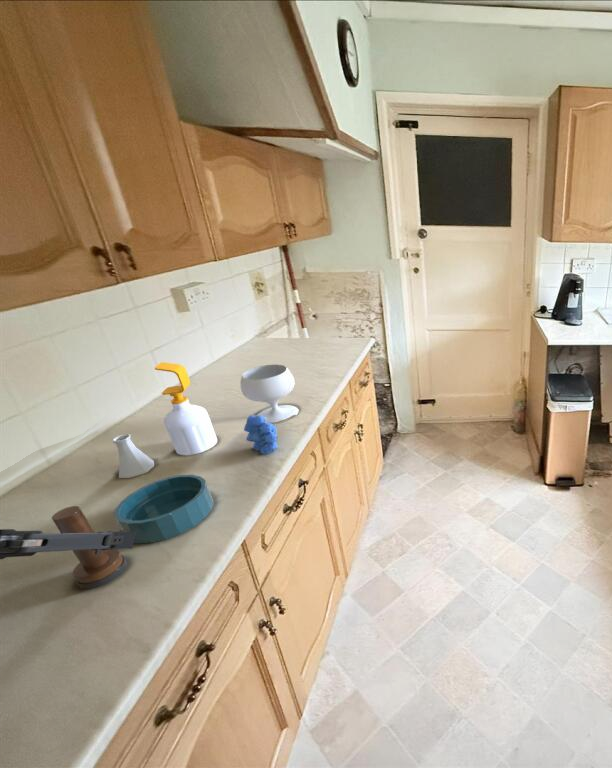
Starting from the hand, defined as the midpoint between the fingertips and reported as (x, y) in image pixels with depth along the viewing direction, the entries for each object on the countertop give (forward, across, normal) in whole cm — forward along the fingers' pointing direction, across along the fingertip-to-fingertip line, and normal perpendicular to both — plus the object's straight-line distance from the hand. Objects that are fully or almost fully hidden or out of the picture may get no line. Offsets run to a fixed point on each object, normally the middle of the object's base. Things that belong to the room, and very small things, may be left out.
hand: (91, 541), depth 69 cm
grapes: (+32, +10, +21) cm, 40 cm away
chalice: (+46, +2, +35) cm, 58 cm away
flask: (+27, -18, +16) cm, 36 cm away
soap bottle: (+34, -10, +23) cm, 42 cm away
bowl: (+15, +2, +4) cm, 15 cm away
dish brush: (+5, 0, -6) cm, 8 cm away
